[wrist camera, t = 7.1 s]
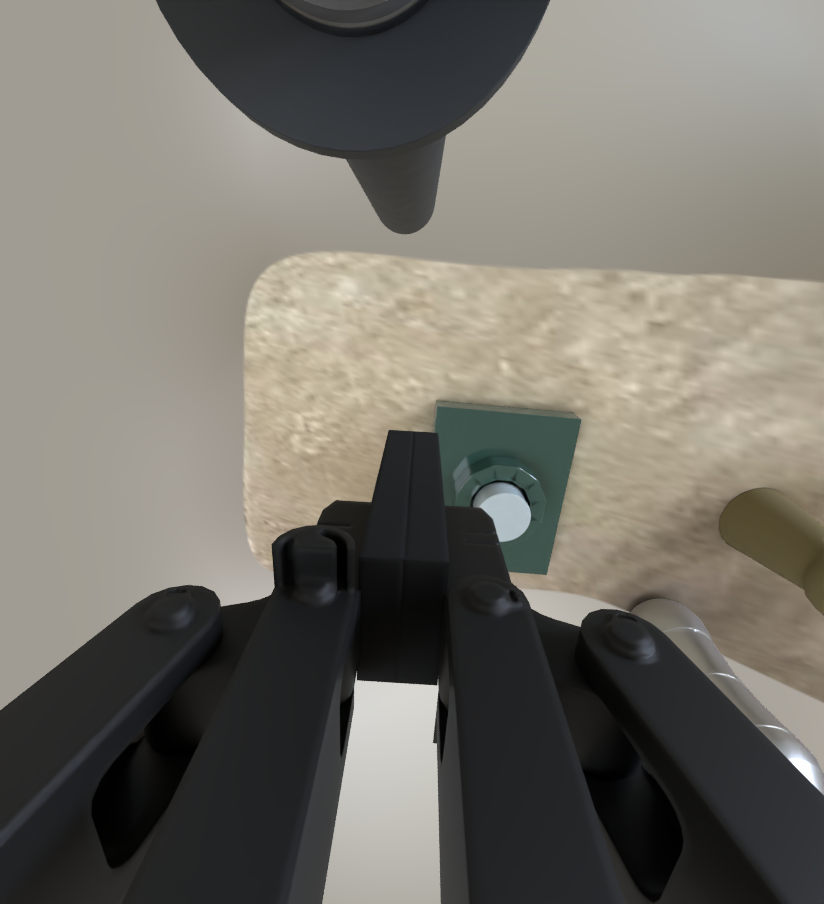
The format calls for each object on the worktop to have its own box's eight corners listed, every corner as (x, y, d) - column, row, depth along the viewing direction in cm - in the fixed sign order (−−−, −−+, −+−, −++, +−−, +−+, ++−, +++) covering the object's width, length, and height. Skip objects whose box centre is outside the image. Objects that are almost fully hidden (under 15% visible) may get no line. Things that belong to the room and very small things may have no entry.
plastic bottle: (663, 652, 43) (850, 930, 24) (602, 631, 42) (747, 900, 24) (702, 602, 41) (939, 864, 22) (638, 578, 40) (828, 829, 22)
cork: (705, 538, 39) (808, 627, 28) (744, 478, 37) (871, 551, 26) (764, 558, 39) (887, 653, 29) (807, 500, 37) (954, 580, 27)
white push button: (476, 479, 33) (479, 490, 31) (528, 484, 33) (535, 495, 32) (469, 525, 35) (472, 539, 33) (520, 530, 35) (525, 544, 33)
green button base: (435, 400, 35) (437, 413, 31) (573, 412, 35) (591, 426, 31) (419, 551, 40) (419, 578, 36) (540, 561, 40) (553, 589, 36)
